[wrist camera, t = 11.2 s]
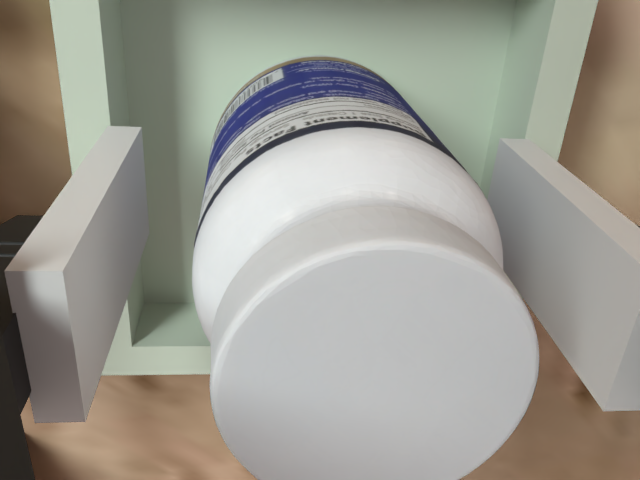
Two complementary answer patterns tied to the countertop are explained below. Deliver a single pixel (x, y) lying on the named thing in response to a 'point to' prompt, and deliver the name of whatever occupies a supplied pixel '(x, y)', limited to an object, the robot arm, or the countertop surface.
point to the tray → (271, 48)
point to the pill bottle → (353, 287)
